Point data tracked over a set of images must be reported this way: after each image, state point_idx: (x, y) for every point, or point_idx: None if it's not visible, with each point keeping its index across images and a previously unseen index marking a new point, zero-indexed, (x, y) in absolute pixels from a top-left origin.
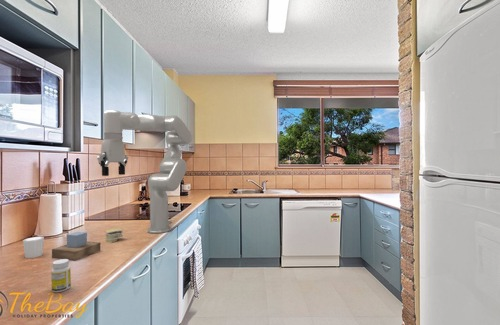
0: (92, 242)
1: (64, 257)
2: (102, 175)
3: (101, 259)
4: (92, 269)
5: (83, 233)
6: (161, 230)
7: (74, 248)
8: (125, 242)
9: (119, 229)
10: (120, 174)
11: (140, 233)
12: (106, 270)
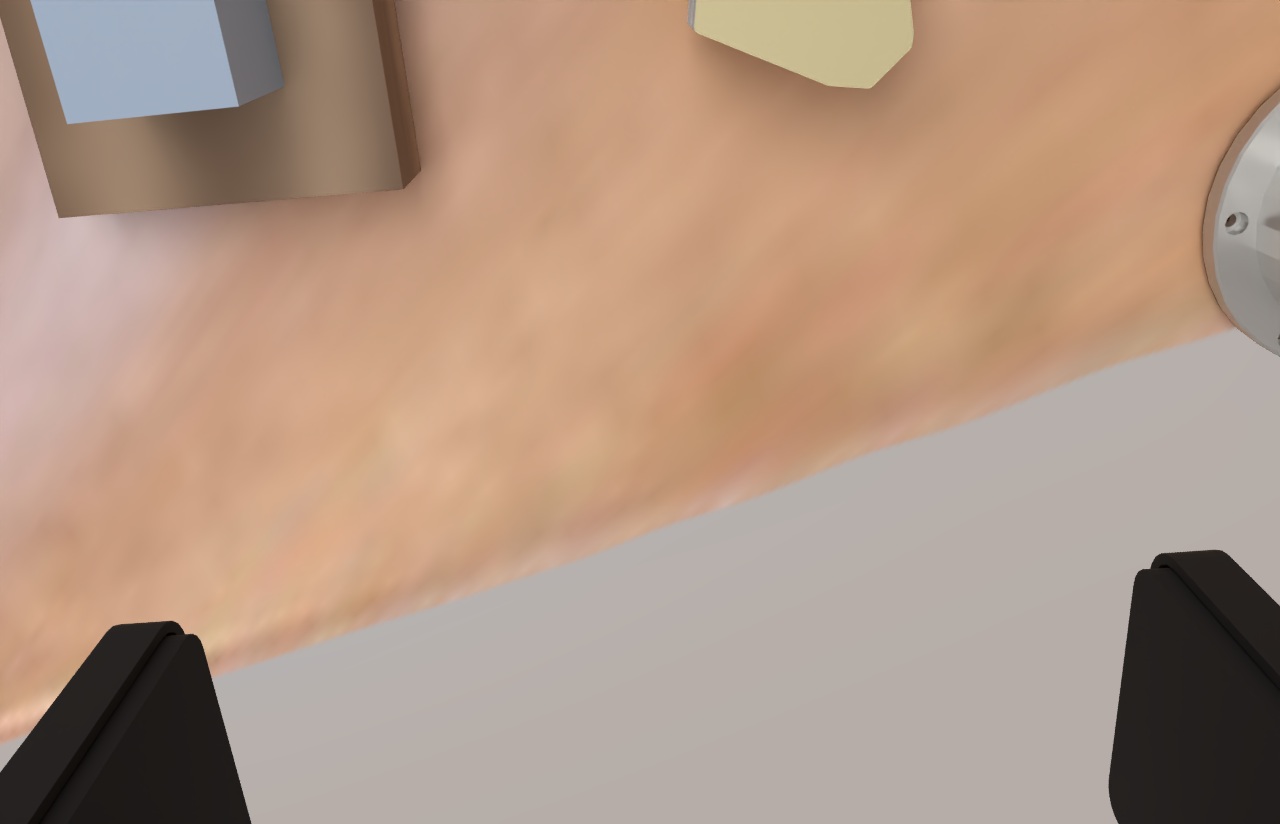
0: (366, 83)
1: None
2: (125, 644)
3: (257, 400)
4: (77, 521)
5: (181, 111)
6: (1274, 314)
7: None
8: (765, 187)
9: (862, 32)
10: (1149, 631)
11: (1184, 48)
12: None
